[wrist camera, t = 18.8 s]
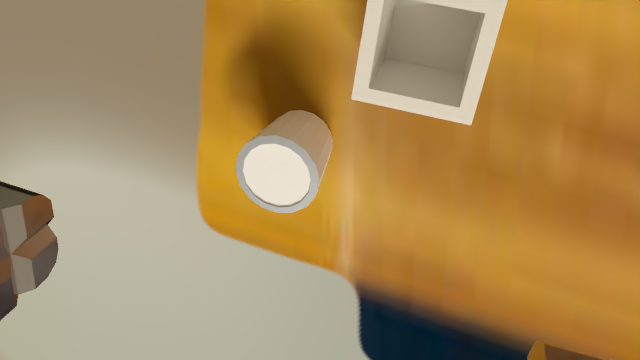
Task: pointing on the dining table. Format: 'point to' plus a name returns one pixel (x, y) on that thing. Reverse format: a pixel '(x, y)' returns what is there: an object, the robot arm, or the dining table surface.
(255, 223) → the dining table surface
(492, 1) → the deep box
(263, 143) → the tan cylinder
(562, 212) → the dining table surface
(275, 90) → the dining table surface
